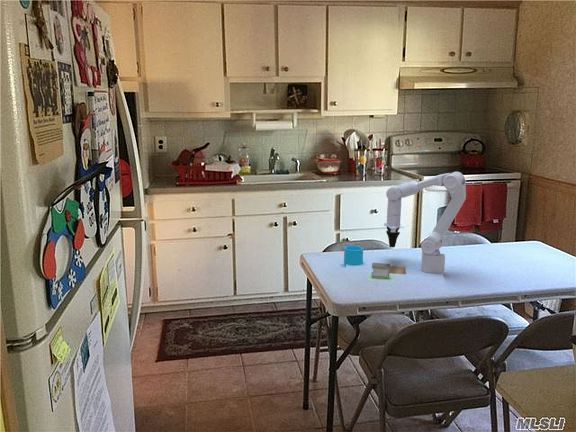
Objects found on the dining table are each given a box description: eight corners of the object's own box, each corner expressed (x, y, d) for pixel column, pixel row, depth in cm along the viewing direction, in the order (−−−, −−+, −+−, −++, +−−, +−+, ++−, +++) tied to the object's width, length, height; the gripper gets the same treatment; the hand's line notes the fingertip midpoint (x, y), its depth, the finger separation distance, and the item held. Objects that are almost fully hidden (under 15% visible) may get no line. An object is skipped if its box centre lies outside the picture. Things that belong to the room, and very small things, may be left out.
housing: (389, 276, 209) (389, 263, 208) (389, 279, 205) (389, 266, 204) (371, 274, 210) (372, 262, 209) (371, 278, 206) (372, 265, 205)
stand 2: (405, 270, 222) (405, 266, 221) (405, 277, 212) (405, 274, 212) (381, 268, 223) (381, 265, 223) (381, 275, 214) (381, 272, 213)
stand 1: (393, 277, 212) (393, 274, 212) (393, 285, 202) (393, 282, 202) (368, 275, 214) (368, 272, 213) (367, 283, 204) (367, 280, 204)
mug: (364, 268, 224) (365, 250, 222) (346, 269, 222) (347, 251, 220) (356, 260, 235) (357, 243, 233) (339, 261, 234) (339, 243, 232)
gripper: (384, 210, 229) (383, 239, 232) (384, 217, 215) (382, 248, 218) (400, 211, 228) (399, 240, 231) (401, 218, 214) (399, 249, 217)
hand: (392, 244), depth 224 cm, fingers open, 7 cm apart
